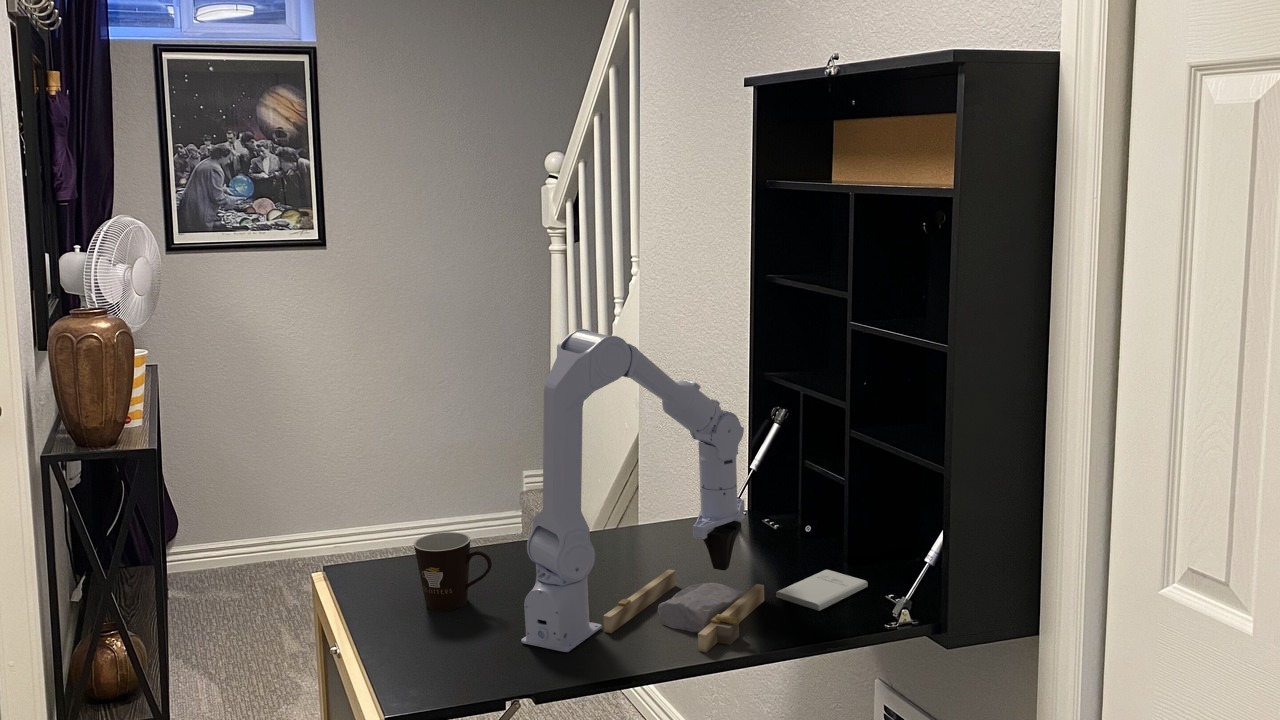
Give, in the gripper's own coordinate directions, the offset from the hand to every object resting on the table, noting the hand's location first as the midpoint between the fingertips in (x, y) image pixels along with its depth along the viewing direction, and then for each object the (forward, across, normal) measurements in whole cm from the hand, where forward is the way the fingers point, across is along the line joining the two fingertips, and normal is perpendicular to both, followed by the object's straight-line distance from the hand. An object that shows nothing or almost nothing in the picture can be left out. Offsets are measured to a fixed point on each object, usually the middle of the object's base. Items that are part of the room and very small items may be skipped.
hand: (721, 568), depth 183 cm
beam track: (+3, -12, -1) cm, 13 cm away
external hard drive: (+4, +5, -15) cm, 16 cm away
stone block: (+4, -11, -2) cm, 12 cm away
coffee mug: (+3, -23, +35) cm, 42 cm away
